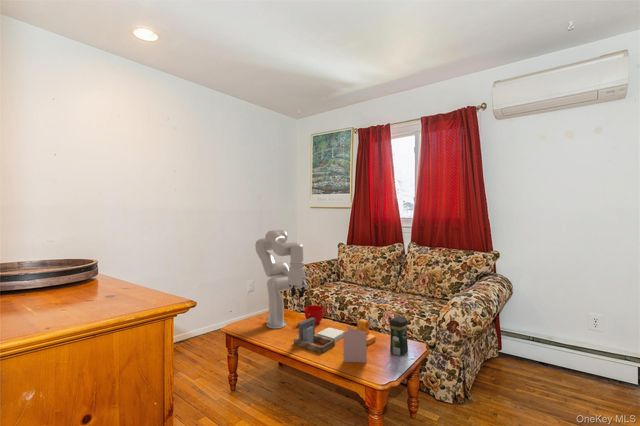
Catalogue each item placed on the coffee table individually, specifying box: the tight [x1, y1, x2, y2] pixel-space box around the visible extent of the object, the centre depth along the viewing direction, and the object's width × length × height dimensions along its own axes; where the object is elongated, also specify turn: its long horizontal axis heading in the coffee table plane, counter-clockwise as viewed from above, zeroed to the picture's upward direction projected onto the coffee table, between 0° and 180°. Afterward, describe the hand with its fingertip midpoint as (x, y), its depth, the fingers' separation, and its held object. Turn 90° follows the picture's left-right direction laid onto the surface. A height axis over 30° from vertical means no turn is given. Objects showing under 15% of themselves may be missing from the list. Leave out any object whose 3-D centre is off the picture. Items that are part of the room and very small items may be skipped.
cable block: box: [303, 325, 314, 344], centre depth 182 cm, size 5×5×9 cm
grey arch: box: [297, 317, 316, 341], centre depth 182 cm, size 3×12×9 cm, turn 142°
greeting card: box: [342, 326, 368, 363], centre depth 159 cm, size 11×7×15 cm, turn 48°
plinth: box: [316, 327, 346, 342], centre depth 190 cm, size 12×12×2 cm
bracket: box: [356, 318, 377, 346], centre depth 182 cm, size 11×7×12 cm, turn 134°
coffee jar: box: [389, 315, 409, 357], centre depth 168 cm, size 10×8×19 cm
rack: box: [292, 334, 336, 355], centre depth 179 cm, size 20×12×3 cm, turn 52°
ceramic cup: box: [303, 304, 325, 326], centre depth 211 cm, size 13×17×10 cm
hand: (297, 296), depth 186 cm, fingers open, 5 cm apart
